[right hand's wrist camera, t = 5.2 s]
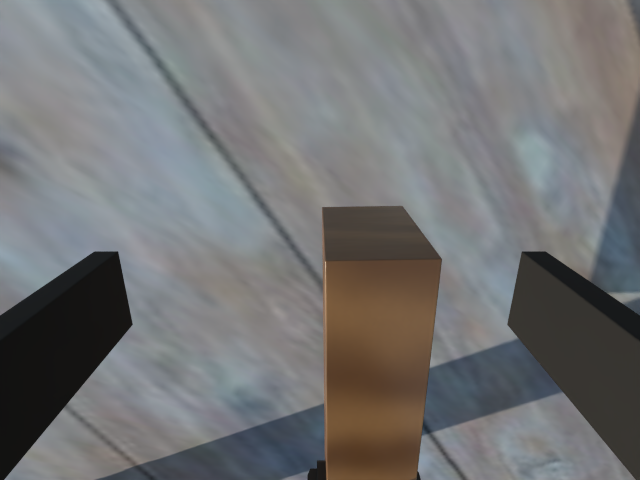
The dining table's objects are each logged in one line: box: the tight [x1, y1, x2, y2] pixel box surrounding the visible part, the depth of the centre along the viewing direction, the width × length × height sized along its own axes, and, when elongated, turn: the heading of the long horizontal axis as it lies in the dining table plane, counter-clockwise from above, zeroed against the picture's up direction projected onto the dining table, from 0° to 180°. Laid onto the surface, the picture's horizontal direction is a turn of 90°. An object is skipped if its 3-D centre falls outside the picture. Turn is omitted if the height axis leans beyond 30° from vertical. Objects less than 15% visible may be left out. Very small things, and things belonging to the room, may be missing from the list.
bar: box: [322, 206, 442, 480], centre depth 26 cm, size 23×6×9 cm, turn 1°
